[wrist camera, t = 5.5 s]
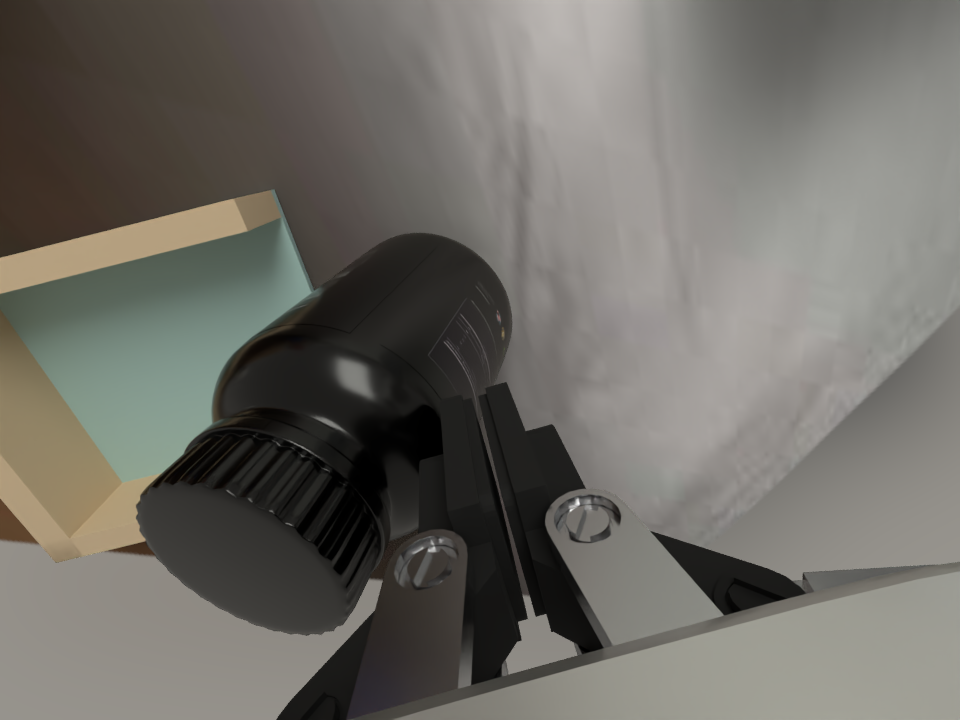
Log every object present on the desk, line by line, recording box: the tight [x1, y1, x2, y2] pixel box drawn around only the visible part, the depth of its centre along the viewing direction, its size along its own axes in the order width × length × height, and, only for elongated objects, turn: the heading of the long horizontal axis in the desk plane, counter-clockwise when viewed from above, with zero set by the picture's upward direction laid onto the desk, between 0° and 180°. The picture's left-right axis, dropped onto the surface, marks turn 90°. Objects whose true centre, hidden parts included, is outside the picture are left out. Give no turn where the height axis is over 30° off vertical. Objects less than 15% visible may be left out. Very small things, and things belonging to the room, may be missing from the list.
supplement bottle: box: [136, 233, 512, 636], centre depth 14 cm, size 7×7×12 cm
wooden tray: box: [0, 190, 314, 563], centre depth 18 cm, size 13×12×4 cm
